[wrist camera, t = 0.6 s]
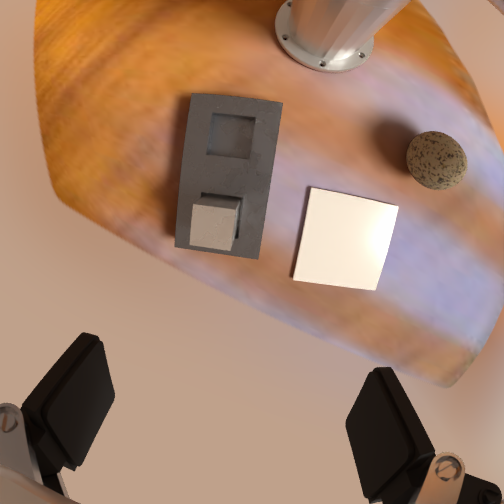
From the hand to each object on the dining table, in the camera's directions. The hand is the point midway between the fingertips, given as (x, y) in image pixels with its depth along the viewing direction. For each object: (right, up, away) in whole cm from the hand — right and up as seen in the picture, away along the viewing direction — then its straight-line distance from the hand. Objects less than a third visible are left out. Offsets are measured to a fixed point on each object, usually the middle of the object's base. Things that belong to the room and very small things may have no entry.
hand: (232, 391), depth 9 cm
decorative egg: (+23, +17, +23) cm, 36 cm away
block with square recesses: (-2, +14, +24) cm, 28 cm away
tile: (+13, +6, +26) cm, 30 cm away
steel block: (-3, +10, +25) cm, 27 cm away
